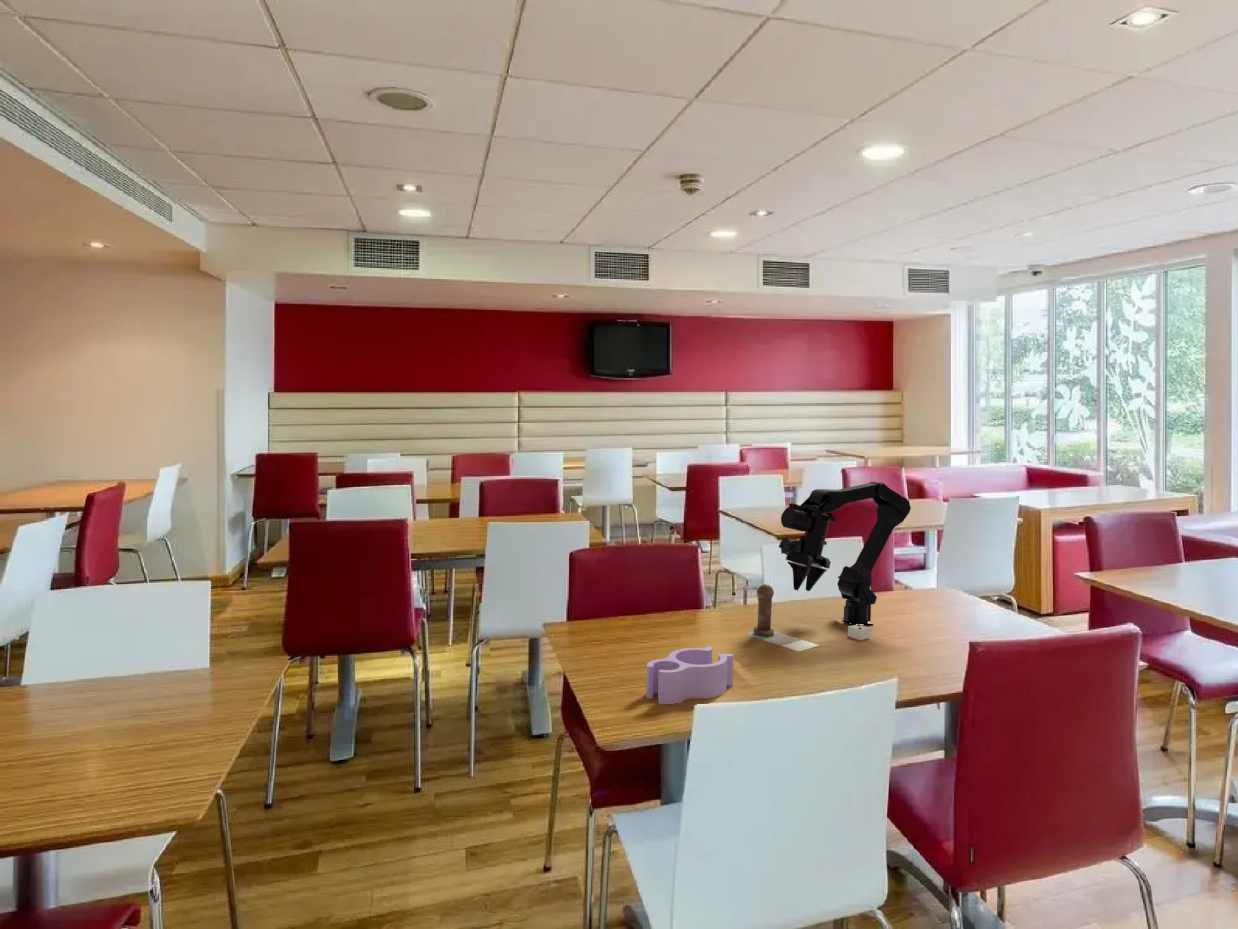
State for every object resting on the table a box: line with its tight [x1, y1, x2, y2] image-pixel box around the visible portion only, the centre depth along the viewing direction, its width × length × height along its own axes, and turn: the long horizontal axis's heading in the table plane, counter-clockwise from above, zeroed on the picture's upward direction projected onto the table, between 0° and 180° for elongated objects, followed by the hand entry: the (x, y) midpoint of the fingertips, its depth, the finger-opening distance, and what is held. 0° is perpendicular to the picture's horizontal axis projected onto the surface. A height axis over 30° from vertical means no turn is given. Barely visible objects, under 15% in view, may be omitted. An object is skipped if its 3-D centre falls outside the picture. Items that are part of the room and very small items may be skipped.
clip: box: [645, 645, 735, 705], centre depth 160 cm, size 20×12×7 cm, turn 127°
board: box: [746, 630, 820, 652], centre depth 191 cm, size 19×9×1 cm, turn 38°
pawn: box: [753, 584, 775, 638], centre depth 195 cm, size 5×5×13 cm
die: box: [847, 624, 872, 641], centre depth 194 cm, size 4×4×4 cm
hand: (801, 590), depth 203 cm, fingers open, 9 cm apart
